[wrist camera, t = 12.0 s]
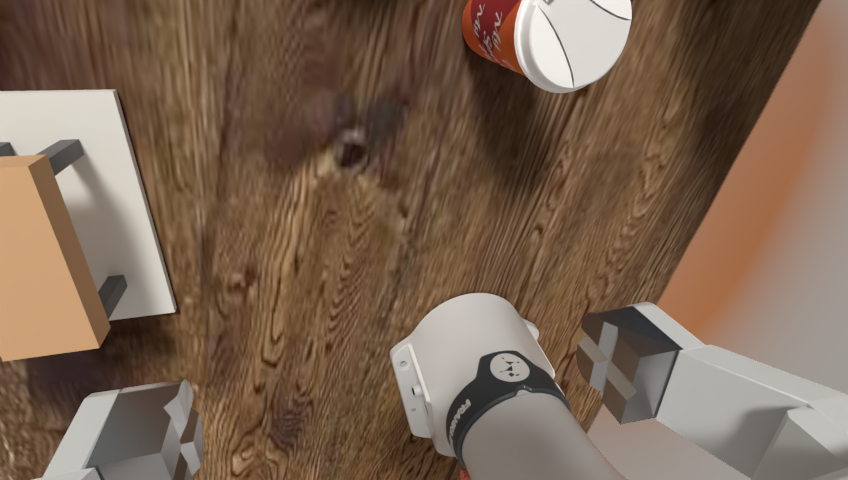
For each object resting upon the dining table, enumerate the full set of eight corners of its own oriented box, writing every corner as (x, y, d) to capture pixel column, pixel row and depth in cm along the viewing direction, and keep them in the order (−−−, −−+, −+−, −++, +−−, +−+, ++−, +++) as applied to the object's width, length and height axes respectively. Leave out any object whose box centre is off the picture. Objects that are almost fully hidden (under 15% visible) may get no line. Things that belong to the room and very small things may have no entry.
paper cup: (431, 28, 38) (498, 38, 26) (491, -53, 36) (593, -81, 24) (492, 88, 42) (575, 122, 30) (549, 18, 40) (662, 23, 28)
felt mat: (176, 307, 43) (175, 312, 42) (28, 325, 40) (24, 331, 39) (116, 89, 34) (112, 91, 33) (-82, 92, 31) (-90, 94, 30)
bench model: (-16, 137, 32) (-97, 172, 26) (80, 133, 34) (27, 166, 27) (53, 298, 39) (3, 361, 32) (131, 289, 40) (99, 348, 33)
